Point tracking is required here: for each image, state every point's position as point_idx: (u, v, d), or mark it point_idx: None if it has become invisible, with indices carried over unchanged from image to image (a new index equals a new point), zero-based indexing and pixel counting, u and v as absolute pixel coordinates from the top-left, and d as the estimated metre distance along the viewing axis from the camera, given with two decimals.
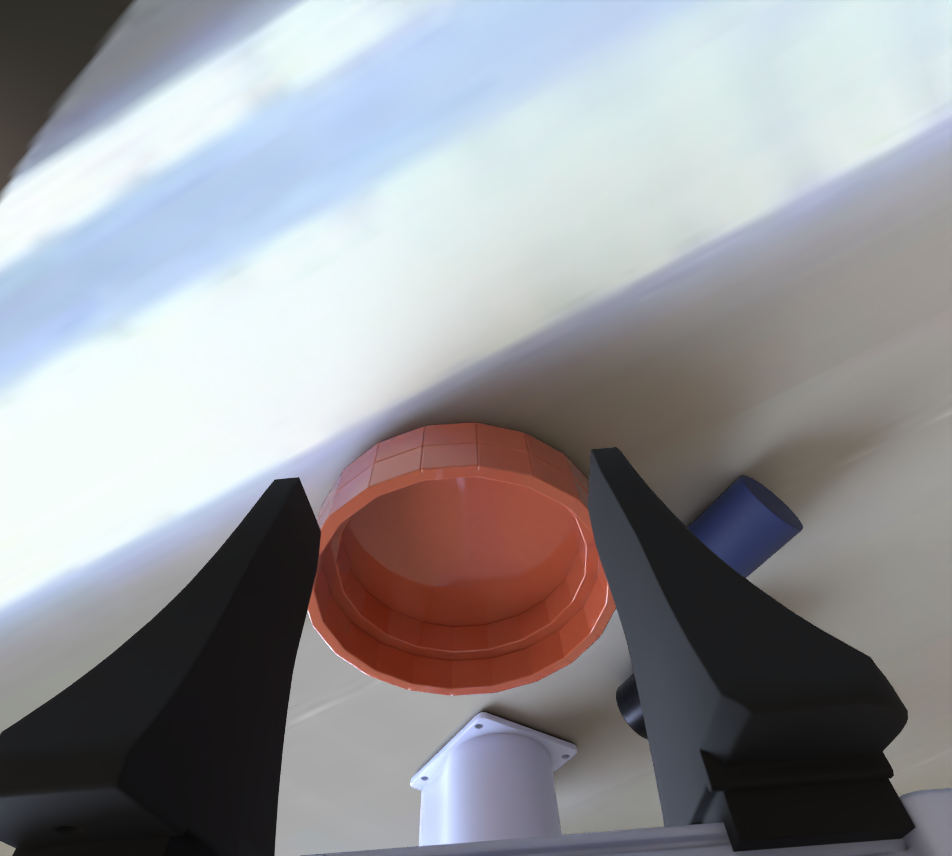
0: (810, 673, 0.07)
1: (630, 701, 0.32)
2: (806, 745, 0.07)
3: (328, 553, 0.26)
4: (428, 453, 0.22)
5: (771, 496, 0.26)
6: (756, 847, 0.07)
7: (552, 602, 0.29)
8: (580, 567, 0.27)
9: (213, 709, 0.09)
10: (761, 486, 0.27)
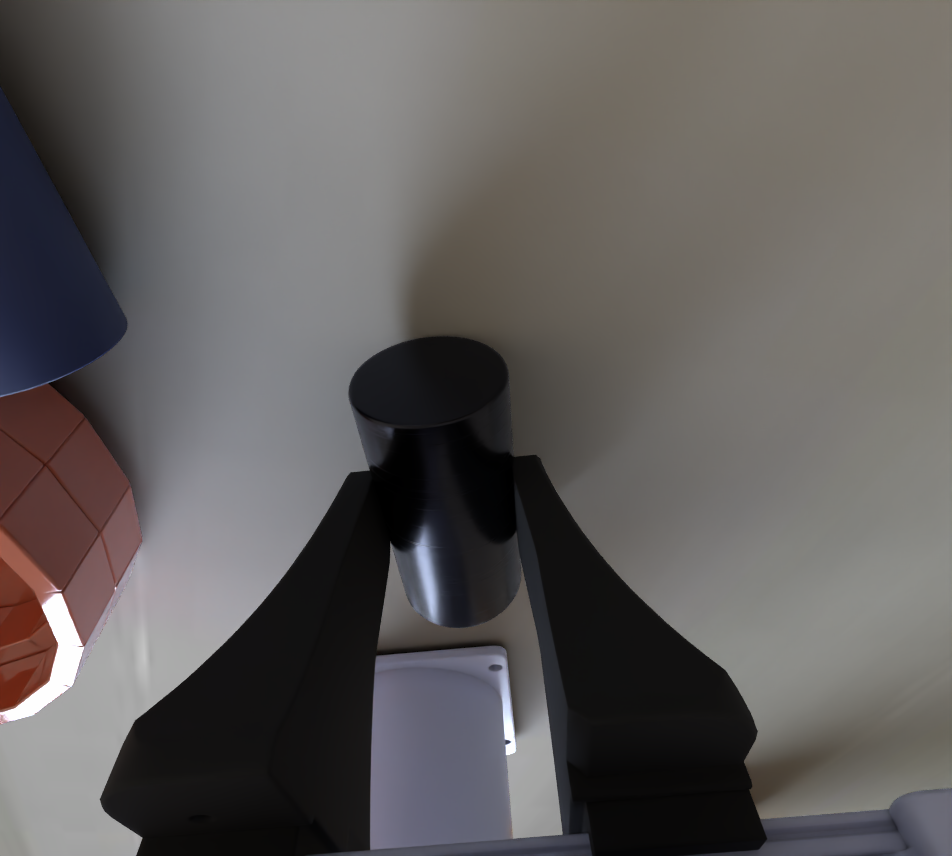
0: (660, 685, 0.07)
1: (399, 570, 0.15)
2: (662, 757, 0.07)
3: None
4: None
5: None
6: None
7: None
8: None
9: (326, 699, 0.09)
10: None
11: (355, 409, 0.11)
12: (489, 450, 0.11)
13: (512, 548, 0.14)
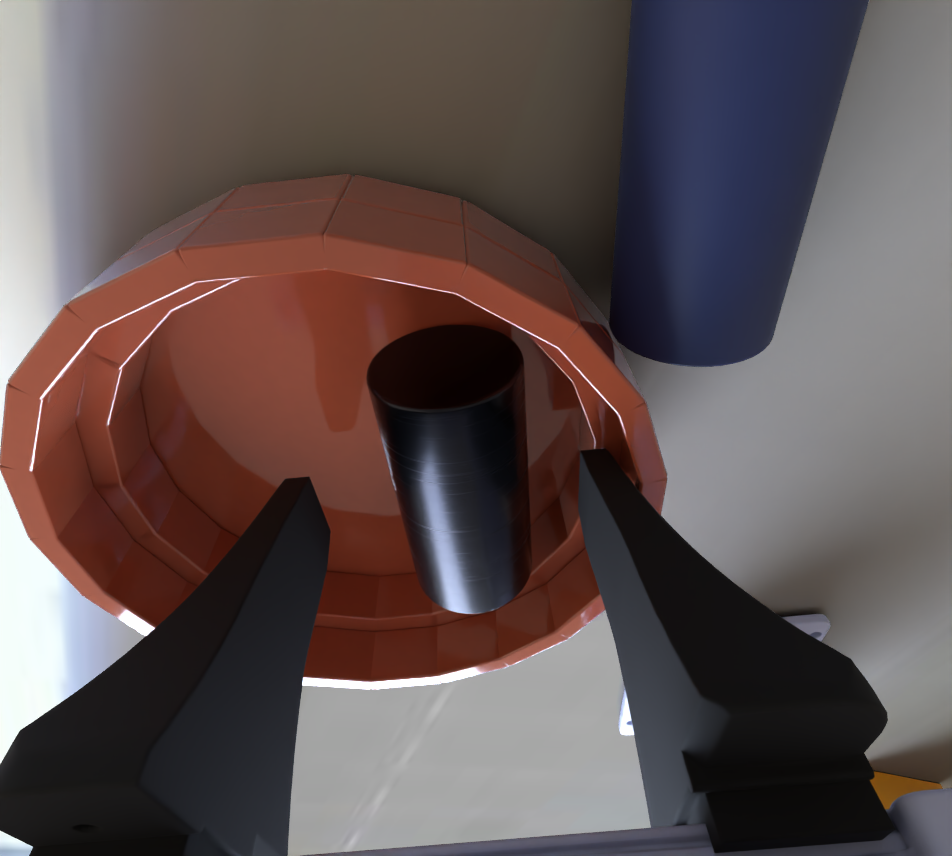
0: (790, 675, 0.07)
1: (416, 567, 0.15)
2: (787, 747, 0.07)
3: (176, 565, 0.16)
4: None
5: None
6: (737, 848, 0.07)
7: None
8: None
9: (229, 708, 0.09)
10: None
11: (383, 401, 0.11)
12: (515, 425, 0.12)
13: (528, 524, 0.14)
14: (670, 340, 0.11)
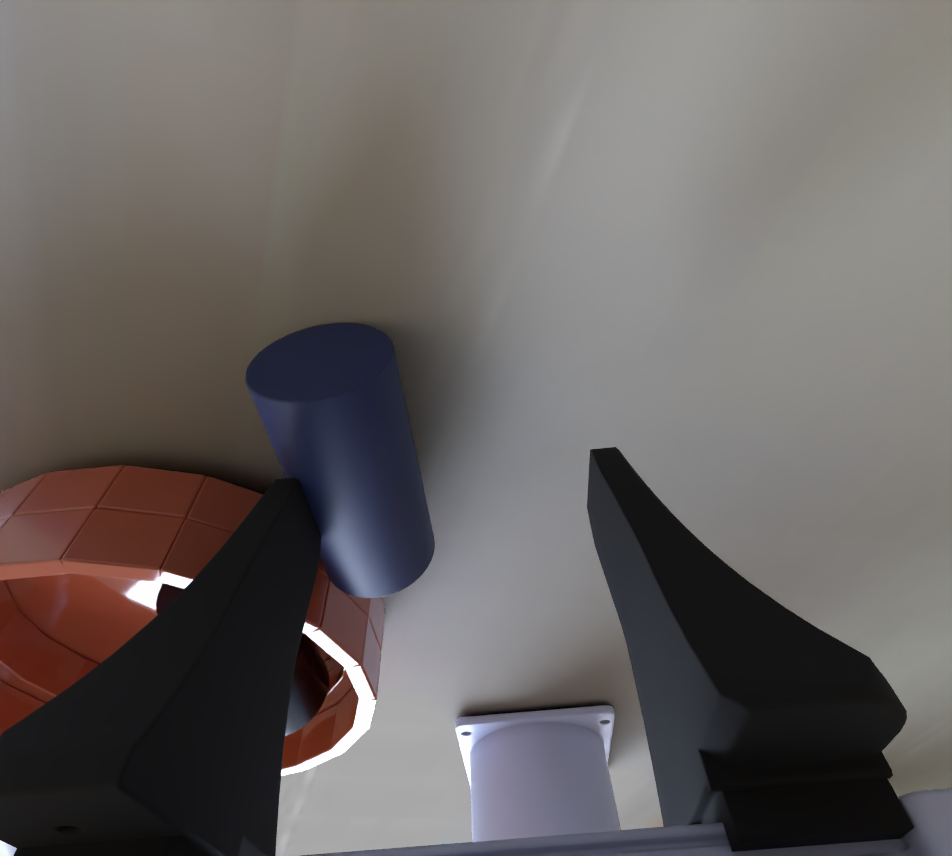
0: (808, 673, 0.07)
1: None
2: (805, 745, 0.07)
3: (42, 697, 0.21)
4: None
5: (347, 362, 0.12)
6: (755, 847, 0.07)
7: None
8: None
9: (214, 709, 0.09)
10: (376, 352, 0.13)
11: None
12: None
13: (313, 662, 0.20)
14: (339, 581, 0.16)
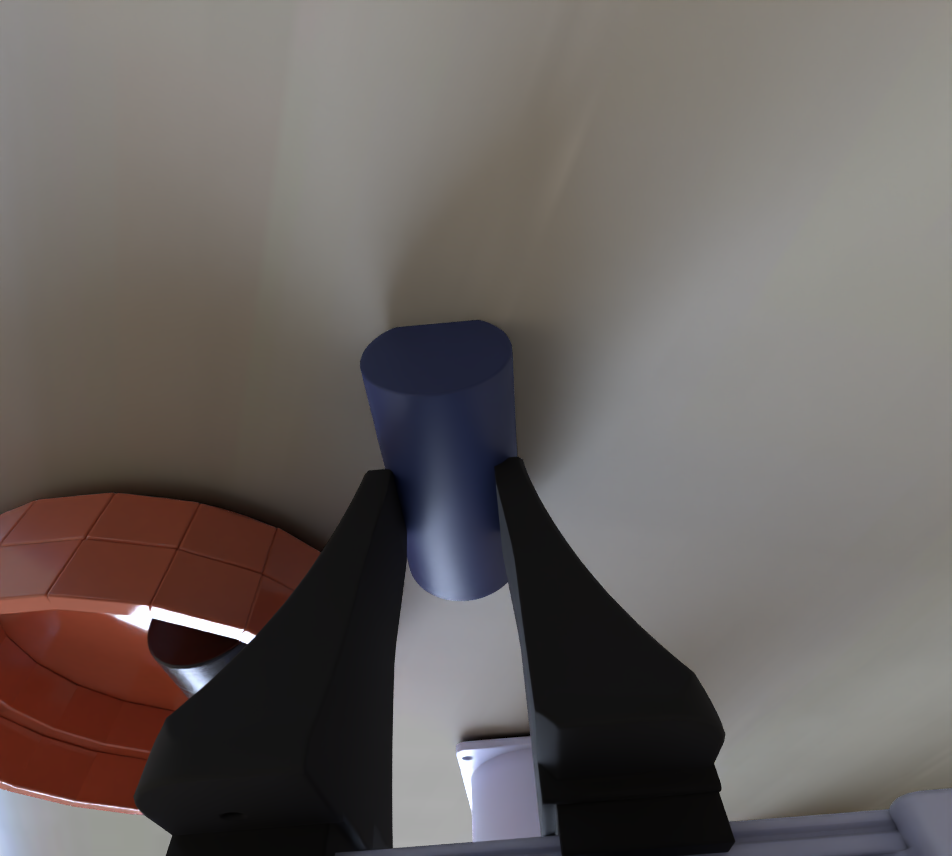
0: (628, 688, 0.07)
1: None
2: (631, 759, 0.07)
3: (31, 726, 0.20)
4: None
5: (468, 353, 0.12)
6: None
7: None
8: None
9: (353, 697, 0.09)
10: (493, 342, 0.12)
11: (158, 661, 0.15)
12: None
13: None
14: (436, 586, 0.15)
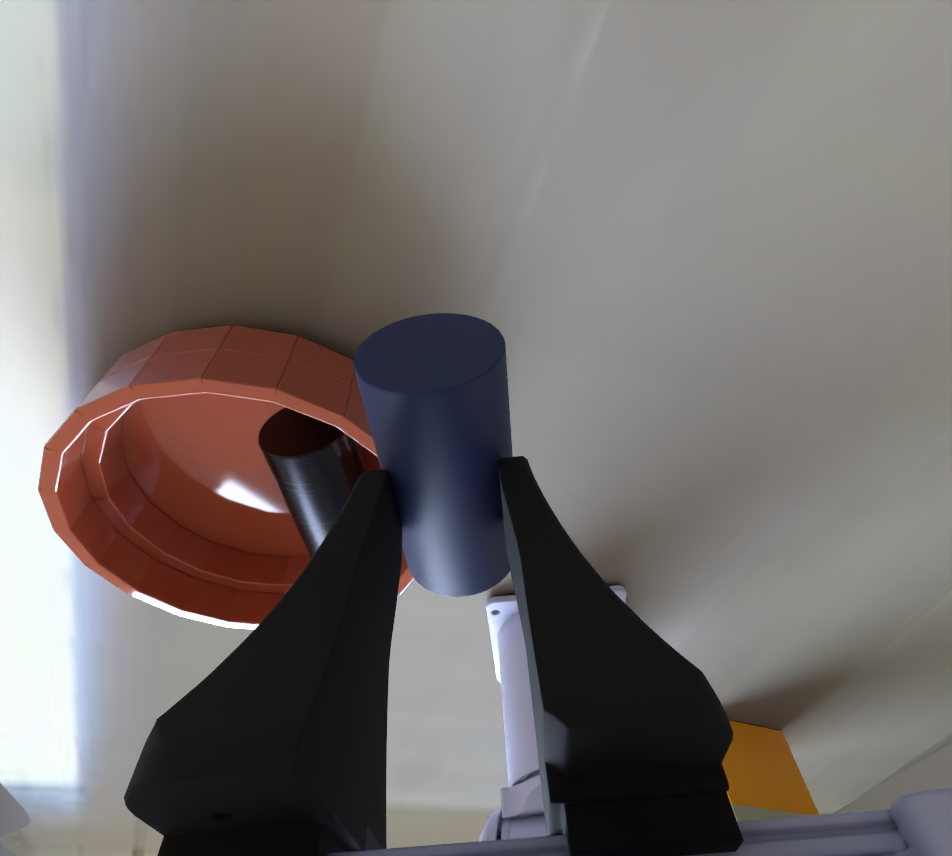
0: (637, 688, 0.07)
1: (309, 553, 0.23)
2: (639, 759, 0.07)
3: (145, 548, 0.24)
4: None
5: (462, 348, 0.12)
6: None
7: None
8: None
9: (345, 698, 0.09)
10: (484, 336, 0.12)
11: (270, 455, 0.19)
12: (351, 455, 0.21)
13: None
14: (440, 584, 0.15)
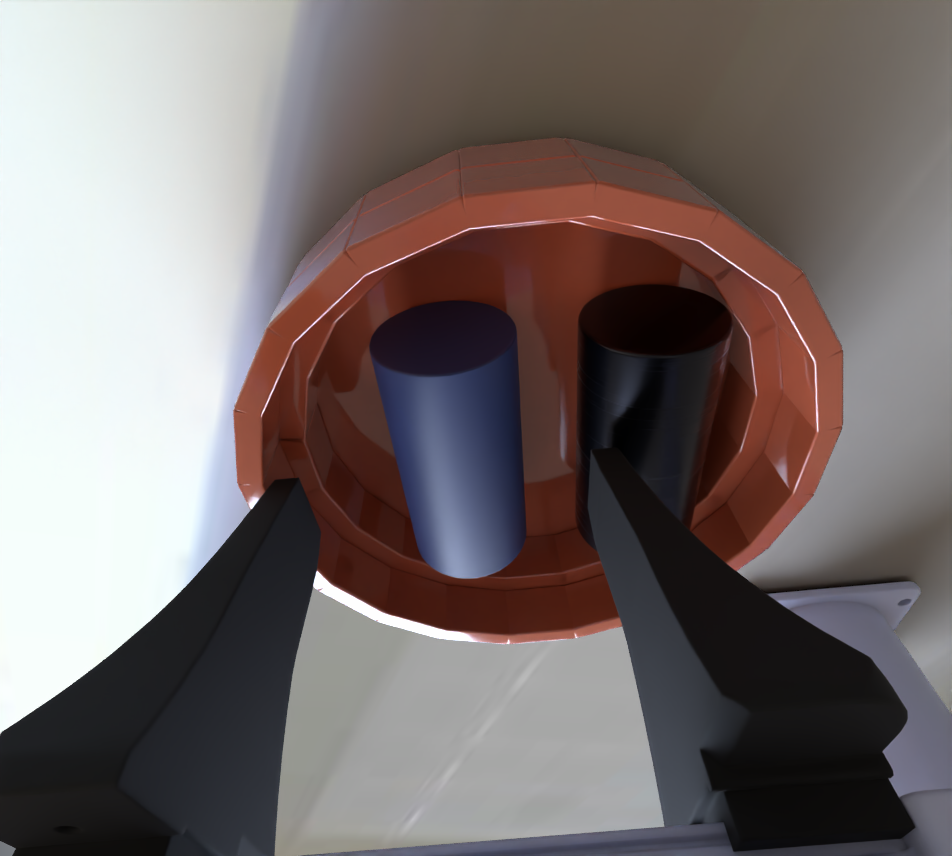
0: (810, 673, 0.07)
1: None
2: (806, 745, 0.07)
3: (335, 521, 0.16)
4: (286, 294, 0.11)
5: (475, 330, 0.13)
6: (756, 847, 0.07)
7: (728, 412, 0.16)
8: (736, 328, 0.14)
9: (213, 709, 0.09)
10: (492, 317, 0.13)
11: (629, 355, 0.12)
12: (724, 365, 0.13)
13: None
14: (463, 567, 0.15)
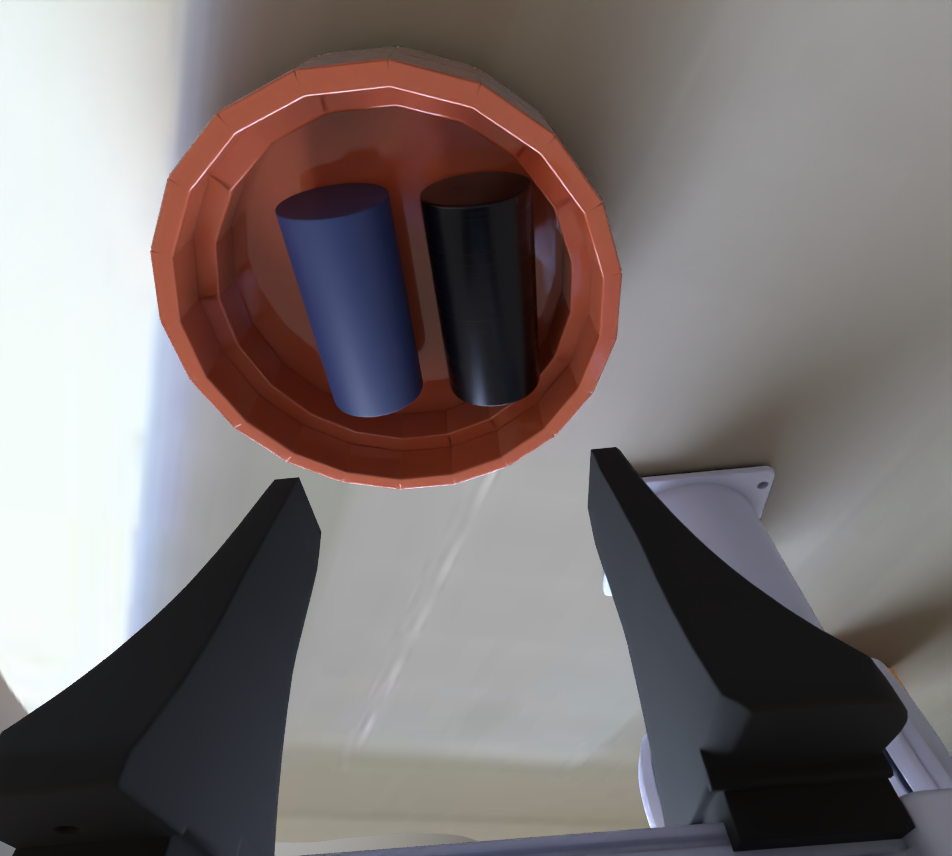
0: (809, 673, 0.07)
1: (457, 377, 0.19)
2: (806, 745, 0.07)
3: (252, 378, 0.20)
4: None
5: (357, 194, 0.17)
6: (756, 847, 0.07)
7: (565, 286, 0.20)
8: (551, 206, 0.18)
9: (213, 709, 0.09)
10: (367, 187, 0.17)
11: (445, 208, 0.15)
12: (532, 226, 0.17)
13: (537, 327, 0.19)
14: (379, 403, 0.19)
